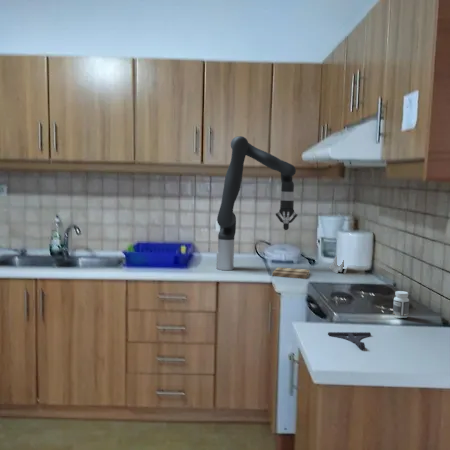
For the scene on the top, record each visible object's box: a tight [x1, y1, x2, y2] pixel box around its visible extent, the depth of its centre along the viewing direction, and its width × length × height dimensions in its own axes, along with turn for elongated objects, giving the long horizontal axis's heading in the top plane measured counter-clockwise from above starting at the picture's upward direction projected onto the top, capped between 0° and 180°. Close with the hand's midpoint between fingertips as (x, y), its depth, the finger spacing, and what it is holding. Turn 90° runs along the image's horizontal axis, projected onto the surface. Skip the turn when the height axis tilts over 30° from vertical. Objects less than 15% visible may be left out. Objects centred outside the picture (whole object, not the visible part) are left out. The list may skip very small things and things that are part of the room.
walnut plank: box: [271, 269, 309, 280], centre depth 262 cm, size 18×7×2 cm, turn 73°
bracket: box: [327, 331, 372, 351], centre depth 160 cm, size 14×15×3 cm
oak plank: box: [275, 266, 311, 276], centre depth 270 cm, size 18×7×2 cm, turn 73°
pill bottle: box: [392, 290, 410, 316], centre depth 189 cm, size 6×6×10 cm
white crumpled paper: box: [328, 255, 348, 274], centre depth 281 cm, size 17×5×10 cm, turn 4°
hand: (286, 229), depth 278 cm, fingers closed
